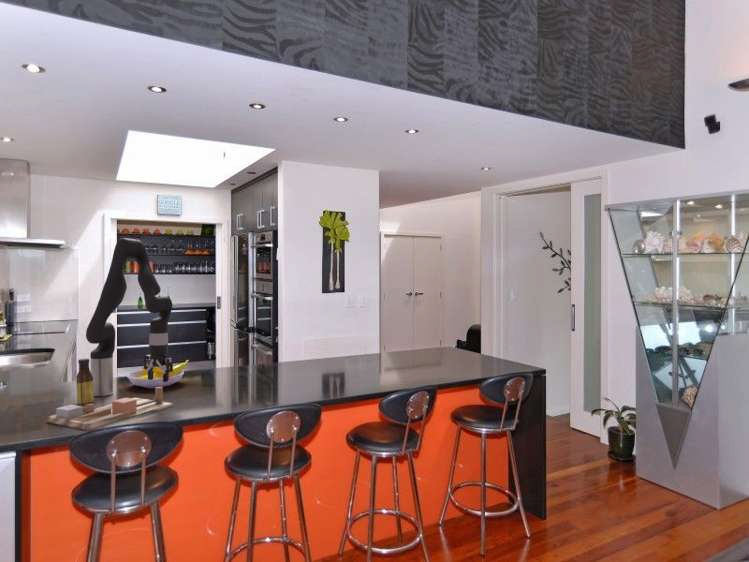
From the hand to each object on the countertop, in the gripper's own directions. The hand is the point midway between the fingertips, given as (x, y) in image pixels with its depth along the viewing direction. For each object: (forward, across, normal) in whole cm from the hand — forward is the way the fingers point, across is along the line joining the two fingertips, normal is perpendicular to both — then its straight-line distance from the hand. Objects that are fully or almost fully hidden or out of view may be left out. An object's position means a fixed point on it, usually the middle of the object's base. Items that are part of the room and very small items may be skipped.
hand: (158, 380), depth 223 cm
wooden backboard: (+11, +4, +18) cm, 21 cm away
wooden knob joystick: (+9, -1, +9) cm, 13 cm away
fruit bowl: (+11, +29, -28) cm, 42 cm away
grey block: (+10, +10, +30) cm, 33 cm away
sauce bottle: (+11, +26, +14) cm, 32 cm away
